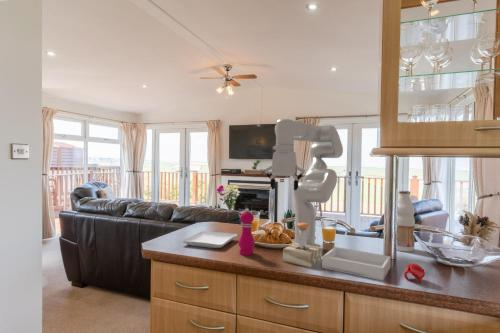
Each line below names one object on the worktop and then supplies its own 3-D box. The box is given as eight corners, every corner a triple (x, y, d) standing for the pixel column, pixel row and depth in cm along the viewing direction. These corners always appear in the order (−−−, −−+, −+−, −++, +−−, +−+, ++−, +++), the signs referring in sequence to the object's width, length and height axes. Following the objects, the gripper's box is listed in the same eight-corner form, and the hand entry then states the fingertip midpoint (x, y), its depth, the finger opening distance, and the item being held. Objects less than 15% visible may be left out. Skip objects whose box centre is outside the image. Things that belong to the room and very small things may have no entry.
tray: (334, 257, 131) (335, 246, 131) (390, 267, 119) (390, 256, 119) (322, 267, 117) (322, 256, 117) (383, 280, 105) (383, 267, 105)
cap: (423, 277, 101) (429, 265, 104) (405, 267, 104) (411, 256, 107) (417, 290, 105) (423, 277, 109) (400, 280, 109) (406, 268, 112)
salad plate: (180, 247, 144) (181, 239, 144) (201, 236, 164) (201, 230, 164) (221, 251, 137) (222, 244, 137) (238, 240, 158) (238, 233, 158)
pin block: (295, 254, 135) (295, 242, 134) (321, 259, 128) (321, 247, 128) (282, 261, 124) (283, 249, 124) (310, 267, 118) (310, 254, 118)
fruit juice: (396, 251, 141) (398, 191, 140) (389, 246, 150) (390, 189, 150) (417, 252, 140) (419, 192, 140) (409, 247, 149) (410, 190, 149)
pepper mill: (252, 256, 130) (253, 210, 130) (236, 255, 132) (237, 209, 131) (255, 251, 137) (256, 207, 137) (240, 250, 139) (241, 206, 138)
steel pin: (299, 257, 130) (299, 222, 129) (309, 259, 127) (310, 223, 127) (294, 260, 126) (295, 224, 125) (305, 262, 123) (306, 225, 123)
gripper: (262, 148, 127) (262, 189, 128) (303, 148, 121) (302, 191, 121) (268, 149, 134) (267, 187, 135) (307, 149, 128) (306, 189, 128)
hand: (284, 189), depth 128 cm, fingers open, 9 cm apart
